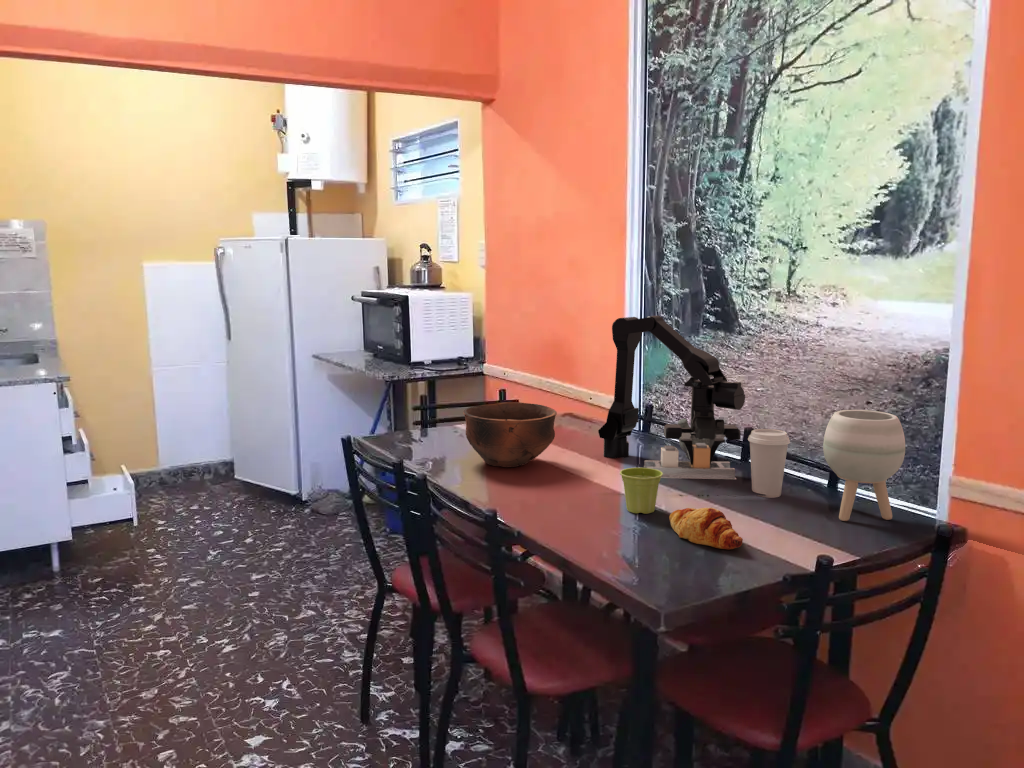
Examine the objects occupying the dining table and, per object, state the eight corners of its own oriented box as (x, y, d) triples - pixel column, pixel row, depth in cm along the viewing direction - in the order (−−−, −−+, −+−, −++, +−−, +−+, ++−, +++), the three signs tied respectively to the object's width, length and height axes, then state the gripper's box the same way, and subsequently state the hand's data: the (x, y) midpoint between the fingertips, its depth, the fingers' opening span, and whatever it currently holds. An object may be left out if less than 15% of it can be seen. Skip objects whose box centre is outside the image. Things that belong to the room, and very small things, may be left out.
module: (693, 471, 208) (694, 446, 207) (691, 467, 212) (692, 442, 211) (709, 471, 207) (710, 446, 206) (706, 467, 211) (707, 442, 210)
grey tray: (647, 480, 205) (648, 469, 204) (643, 468, 217) (643, 458, 216) (736, 482, 203) (736, 471, 203) (727, 470, 215) (727, 459, 215)
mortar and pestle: (700, 454, 233) (702, 413, 231) (721, 461, 224) (722, 418, 223) (667, 458, 229) (668, 416, 227) (687, 465, 220) (688, 422, 218)
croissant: (659, 541, 171) (645, 511, 169) (693, 513, 175) (679, 483, 172) (729, 572, 153) (715, 539, 150) (765, 540, 156) (752, 508, 153)
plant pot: (610, 509, 181) (610, 471, 180) (638, 501, 187) (639, 465, 186) (642, 519, 174) (643, 480, 173) (670, 511, 180) (671, 473, 179)
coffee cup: (792, 492, 194) (795, 431, 192) (780, 502, 187) (783, 438, 184) (752, 486, 200) (755, 426, 198) (739, 495, 192) (742, 433, 190)
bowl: (498, 480, 205) (498, 421, 203) (447, 461, 225) (446, 407, 223) (574, 466, 220) (574, 411, 217) (519, 449, 239) (519, 398, 237)
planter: (829, 526, 169) (835, 421, 166) (811, 503, 185) (817, 407, 182) (911, 529, 167) (919, 423, 164) (886, 506, 183) (893, 409, 180)
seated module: (662, 473, 208) (662, 448, 207) (660, 469, 212) (661, 445, 211) (677, 474, 208) (678, 448, 207) (675, 470, 212) (676, 445, 211)
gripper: (669, 410, 200) (667, 472, 202) (746, 411, 199) (743, 473, 201) (664, 402, 211) (662, 461, 213) (737, 403, 209) (734, 462, 212)
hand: (700, 464), depth 209 cm, fingers closed on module, 4 cm apart
